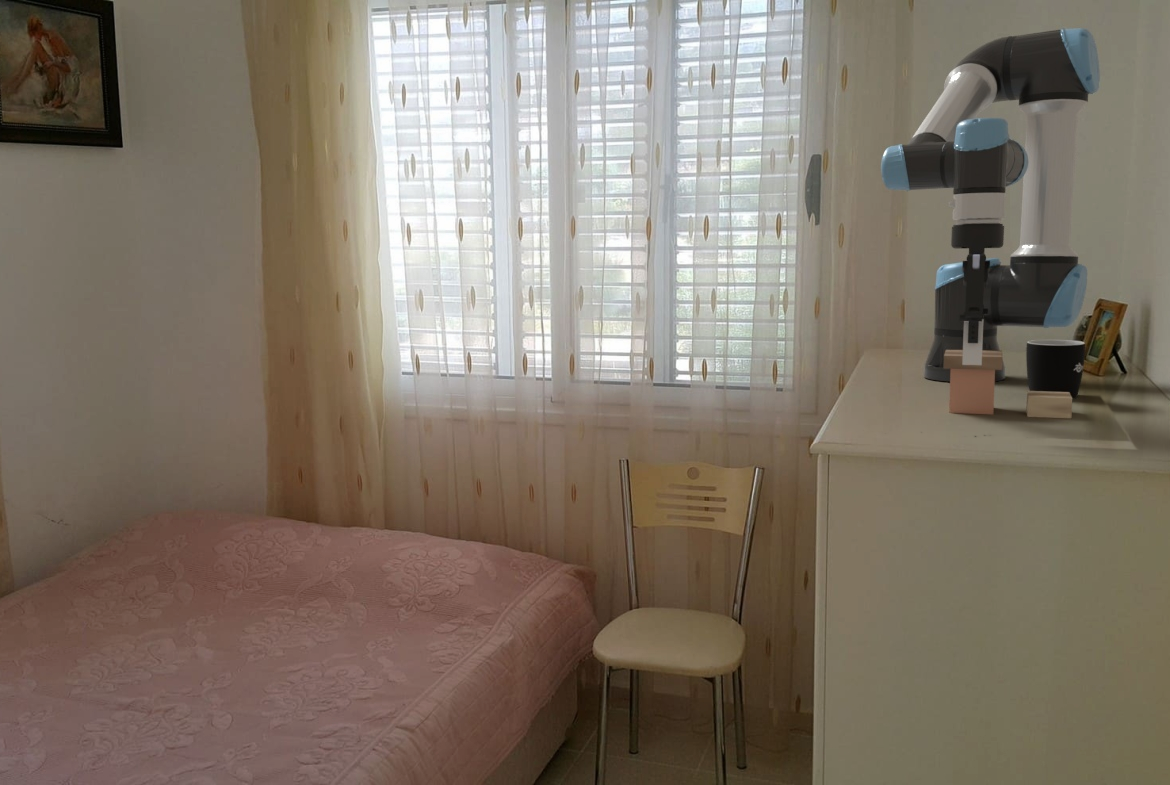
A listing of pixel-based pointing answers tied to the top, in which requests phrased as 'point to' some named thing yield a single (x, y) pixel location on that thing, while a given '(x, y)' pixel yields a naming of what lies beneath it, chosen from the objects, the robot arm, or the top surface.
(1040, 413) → the block
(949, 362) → the lid
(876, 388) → the top surface
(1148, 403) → the top surface
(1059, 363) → the mug
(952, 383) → the tan hollow square block
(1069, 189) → the robot arm
